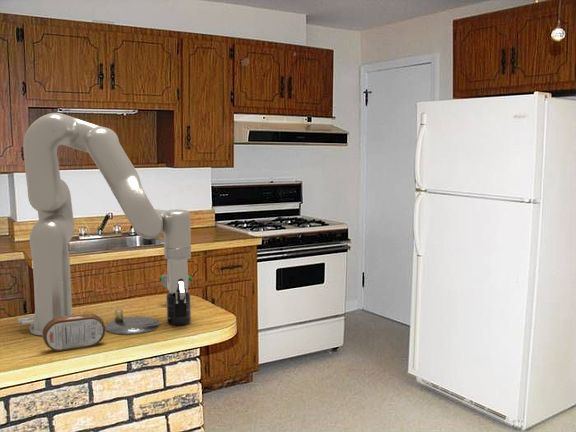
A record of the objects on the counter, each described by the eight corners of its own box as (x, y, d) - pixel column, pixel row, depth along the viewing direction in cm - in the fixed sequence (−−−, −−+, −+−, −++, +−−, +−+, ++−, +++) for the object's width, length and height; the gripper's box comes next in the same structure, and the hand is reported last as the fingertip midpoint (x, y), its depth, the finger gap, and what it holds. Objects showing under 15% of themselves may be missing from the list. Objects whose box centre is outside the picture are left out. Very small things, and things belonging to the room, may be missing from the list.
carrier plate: (106, 337, 156) (105, 324, 156) (104, 321, 170) (104, 309, 170) (162, 331, 161) (162, 319, 161) (156, 316, 175) (156, 305, 175)
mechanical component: (191, 307, 186) (190, 276, 185) (159, 306, 186) (158, 276, 185) (192, 304, 189) (192, 274, 188) (161, 304, 189) (161, 274, 188)
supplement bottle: (182, 318, 174) (182, 279, 172) (195, 323, 169) (194, 283, 167) (162, 322, 169) (161, 282, 168) (175, 328, 164) (174, 286, 163)
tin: (104, 341, 153) (103, 310, 152) (107, 345, 150) (106, 313, 149) (43, 350, 146) (41, 318, 145) (44, 354, 143) (42, 321, 142)
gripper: (160, 248, 174) (162, 306, 176) (168, 259, 157) (169, 322, 159) (185, 247, 176) (186, 304, 178) (196, 257, 160) (196, 320, 162)
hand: (178, 312), depth 169 cm, fingers closed on supplement bottle, 6 cm apart
